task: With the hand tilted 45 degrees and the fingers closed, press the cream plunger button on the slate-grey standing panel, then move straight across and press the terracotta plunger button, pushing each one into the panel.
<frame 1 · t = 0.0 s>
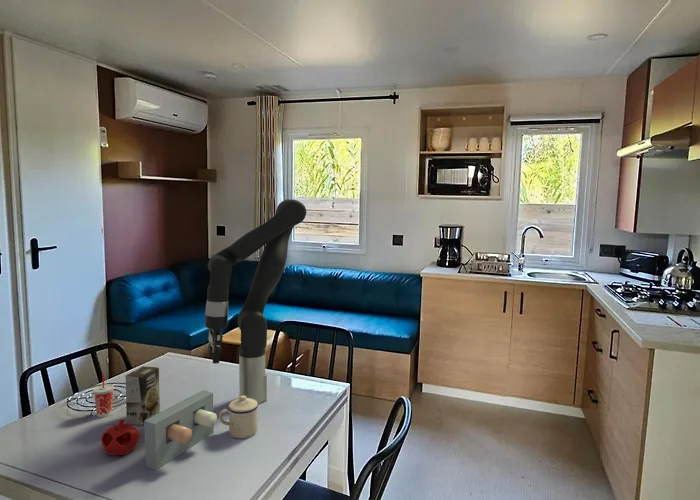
hand: (214, 358, 156), 17 cm above the table, tool pointing down, fingers open, 8 cm apart
coffee box: (144, 418, 149), on the table
button panel: (182, 448, 132), on the table
terracotta button: (177, 432, 125), point 8 cm above the table, slide at 0.0 cm
teacup with lid: (238, 432, 141), on the table
beverage cup: (104, 414, 151), on the table
cream button: (203, 417, 134), point 8 cm above the table, slide at 0.0 cm
tomato: (121, 450, 130), on the table
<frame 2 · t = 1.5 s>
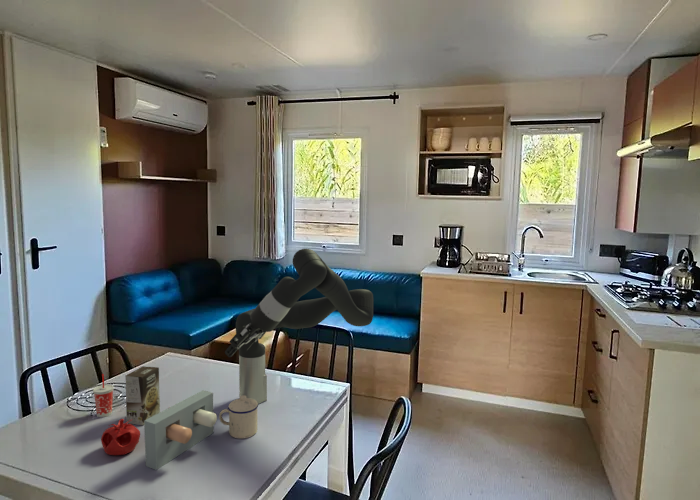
hand: (235, 351, 126), 30 cm above the table, tool tilted 40°, fingers open, 8 cm apart
nothing on the table moved.
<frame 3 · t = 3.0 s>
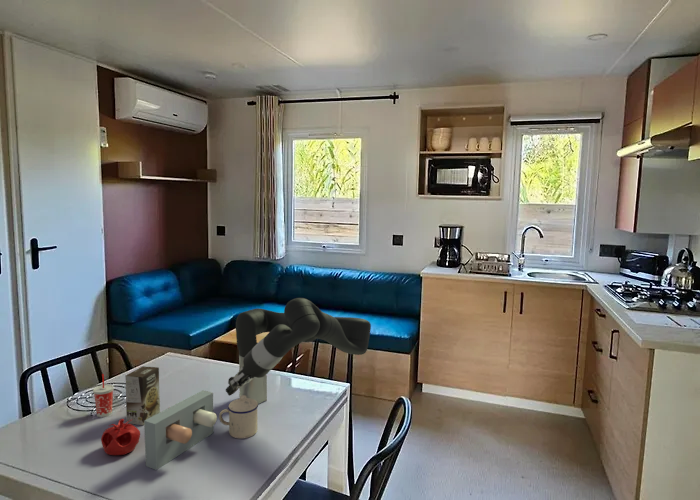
hand: (229, 392, 126), 19 cm above the table, tool tilted 45°, fingers closed
nothing on the table moved.
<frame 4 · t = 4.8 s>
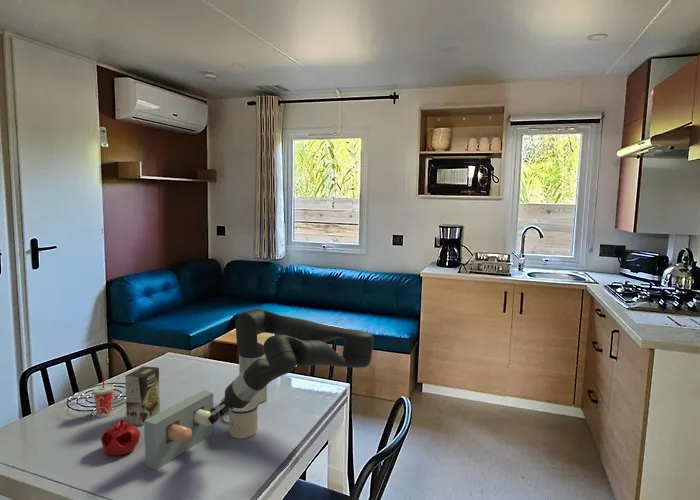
hand: (211, 420, 132), 8 cm above the table, tool tilted 45°, fingers closed
cream button: (201, 416, 134), point 8 cm above the table, slide at 0.7 cm, touching gripper
everything else where it was.
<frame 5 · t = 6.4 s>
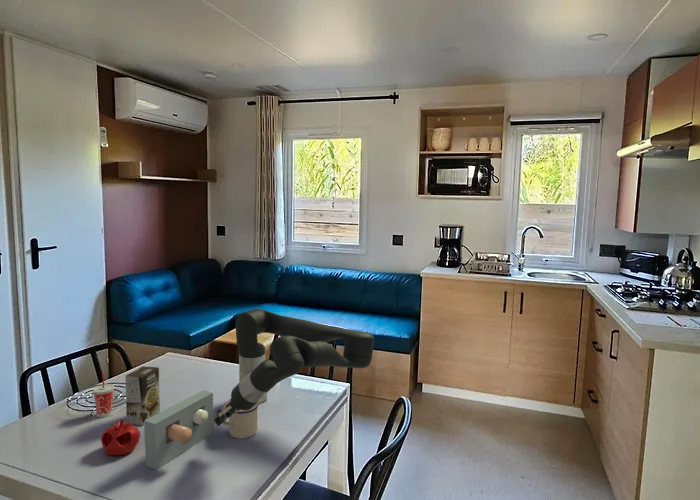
hand: (217, 421, 131), 8 cm above the table, tool tilted 45°, fingers closed
cream button: (194, 414, 135), point 8 cm above the table, slide at 3.5 cm
everything else where it was.
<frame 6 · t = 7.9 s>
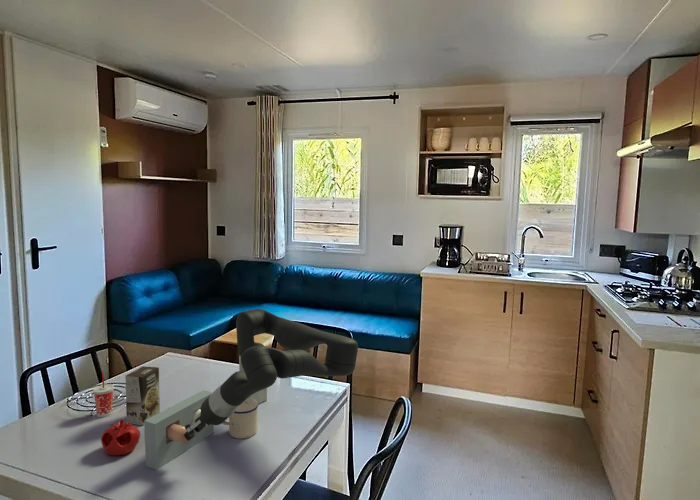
hand: (187, 436, 123), 8 cm above the table, tool tilted 45°, fingers closed
terracotta button: (177, 432, 125), point 8 cm above the table, slide at 0.0 cm, touching gripper
everything else where it was.
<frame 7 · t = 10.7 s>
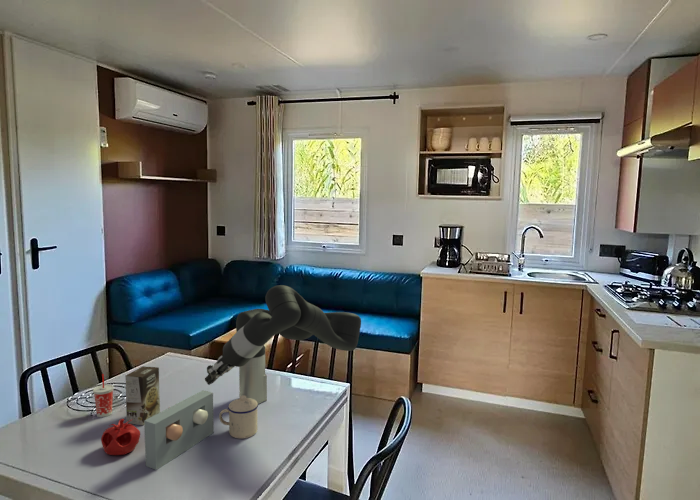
hand: (208, 381, 122), 23 cm above the table, tool tilted 45°, fingers closed
terracotta button: (167, 430, 126), point 8 cm above the table, slide at 3.4 cm
everything else where it was.
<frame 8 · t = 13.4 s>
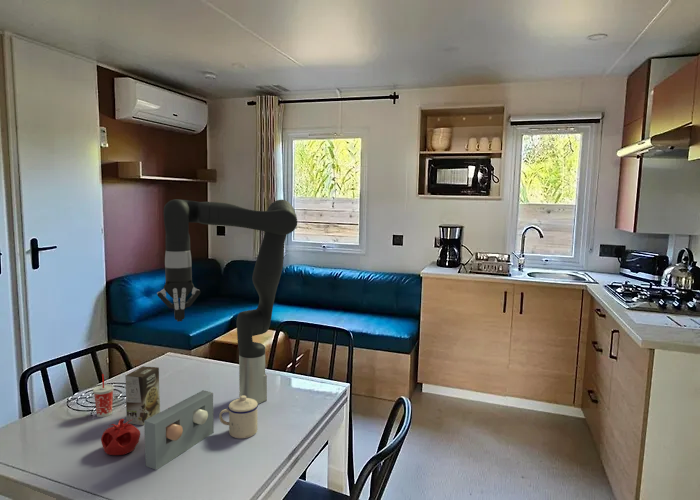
hand: (179, 320, 139), 35 cm above the table, tool pointing down, fingers closed
nothing on the table moved.
at the end: cream button slide at 3.5 cm; terracotta button slide at 3.4 cm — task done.
